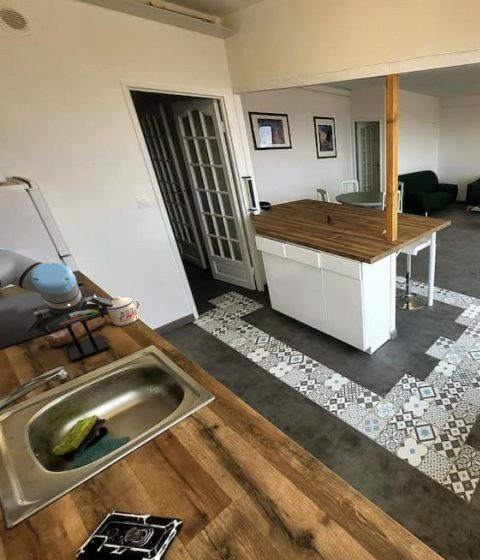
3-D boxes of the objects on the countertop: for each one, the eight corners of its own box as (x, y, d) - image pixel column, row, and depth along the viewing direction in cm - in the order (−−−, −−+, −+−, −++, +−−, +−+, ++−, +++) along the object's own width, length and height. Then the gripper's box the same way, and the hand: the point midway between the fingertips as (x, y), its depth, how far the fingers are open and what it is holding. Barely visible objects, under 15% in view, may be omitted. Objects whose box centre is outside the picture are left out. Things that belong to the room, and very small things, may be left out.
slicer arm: (89, 319, 106) (86, 313, 106) (61, 328, 101) (58, 321, 101) (89, 321, 115) (86, 315, 115) (63, 329, 110) (60, 323, 110)
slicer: (109, 349, 117) (94, 318, 111) (73, 362, 110) (56, 330, 104) (101, 337, 124) (87, 307, 118) (67, 348, 117) (51, 317, 111)
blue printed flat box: (107, 309, 143) (102, 297, 140) (107, 310, 142) (102, 299, 139) (71, 320, 134) (65, 307, 132) (72, 321, 133) (66, 309, 131)
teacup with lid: (123, 327, 130) (112, 303, 125) (107, 324, 132) (96, 300, 127) (150, 313, 140) (142, 291, 135) (135, 310, 142) (127, 288, 137)
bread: (47, 347, 117) (41, 335, 115) (102, 321, 134) (97, 310, 131) (59, 350, 115) (52, 338, 113) (113, 324, 132) (108, 313, 130)
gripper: (4, 327, 81) (26, 349, 96) (122, 293, 98) (126, 317, 113) (-8, 302, 81) (17, 329, 96) (112, 274, 99) (117, 300, 114)
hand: (76, 322), depth 105 cm, fingers open, 13 cm apart
